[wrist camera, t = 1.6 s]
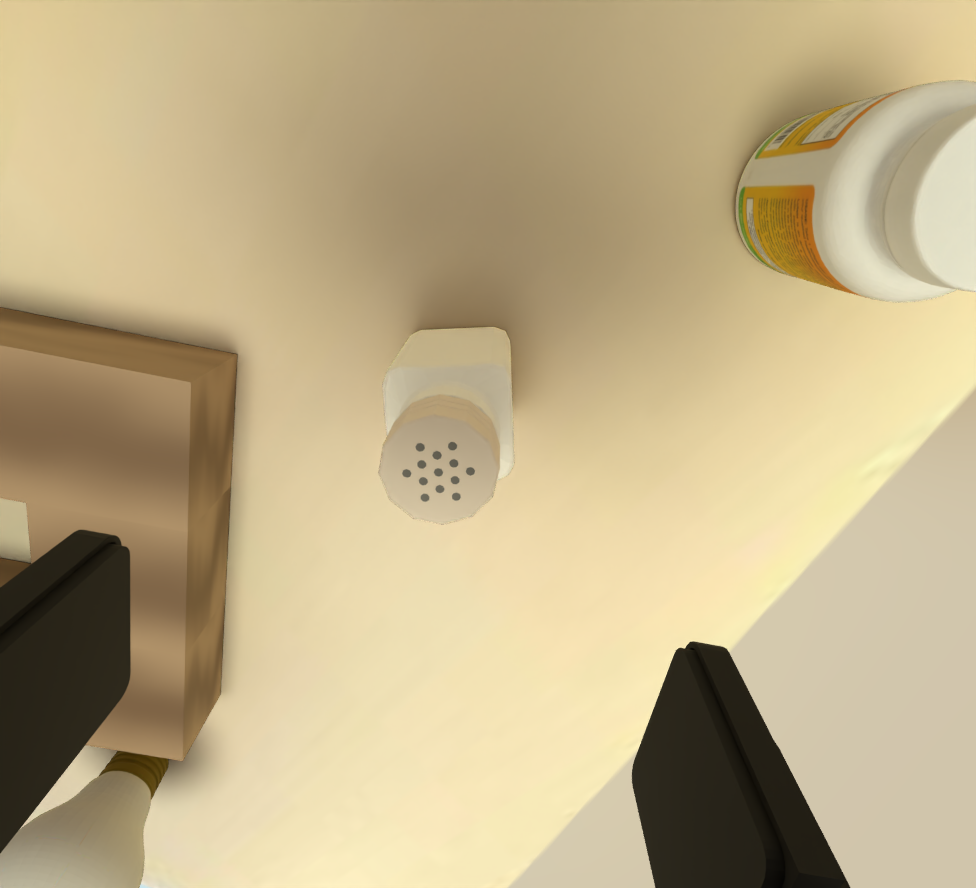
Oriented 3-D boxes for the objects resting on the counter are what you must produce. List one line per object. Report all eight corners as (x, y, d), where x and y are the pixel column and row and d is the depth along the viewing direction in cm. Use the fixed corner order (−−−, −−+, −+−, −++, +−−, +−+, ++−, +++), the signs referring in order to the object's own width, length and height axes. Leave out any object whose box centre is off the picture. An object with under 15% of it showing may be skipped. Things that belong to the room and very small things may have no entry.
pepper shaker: (509, 323, 24) (512, 396, 16) (512, 419, 26) (516, 536, 17) (407, 327, 25) (353, 402, 16) (416, 423, 26) (371, 540, 17)
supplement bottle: (837, 293, 24) (1041, 354, 15) (706, 248, 23) (834, 283, 14) (915, 142, 22) (1207, 107, 13) (774, 89, 21) (973, 14, 12)
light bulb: (82, 761, 34) (-77, 976, 25) (112, 687, 32) (-49, 890, 23) (187, 800, 35) (71, 1022, 25) (222, 730, 33) (110, 943, 23)
